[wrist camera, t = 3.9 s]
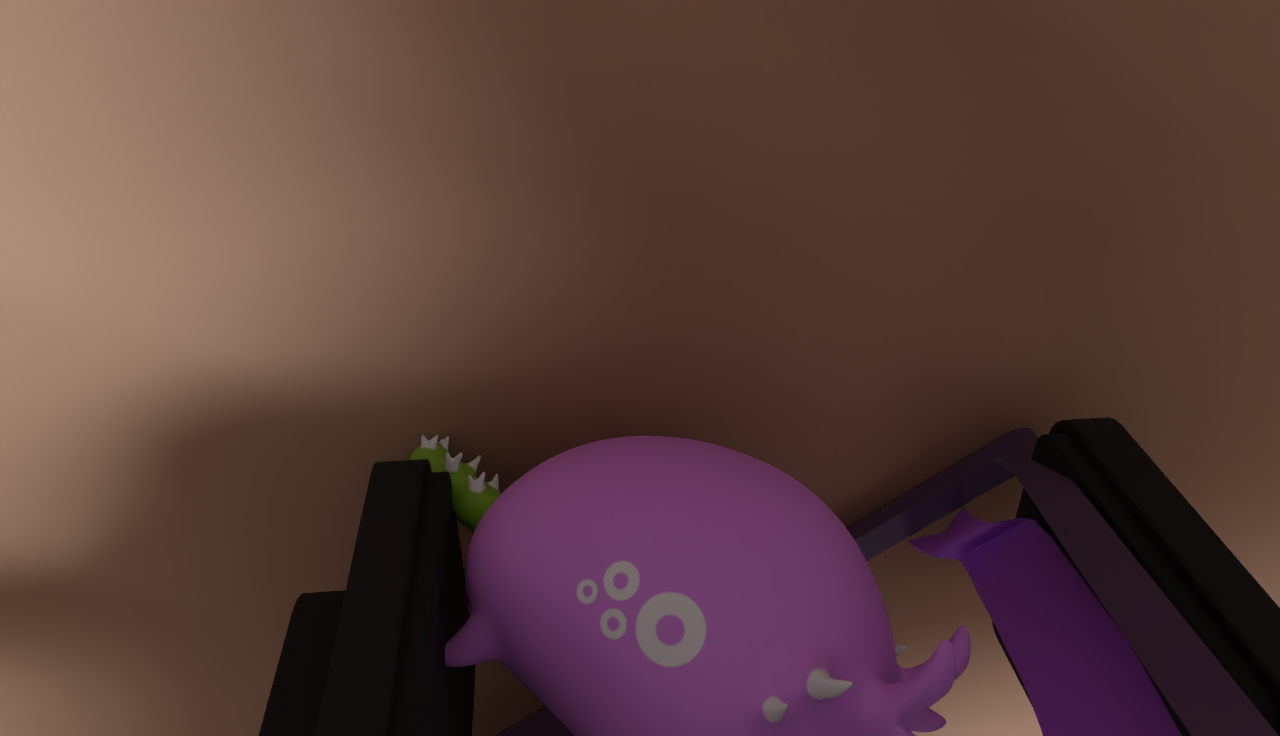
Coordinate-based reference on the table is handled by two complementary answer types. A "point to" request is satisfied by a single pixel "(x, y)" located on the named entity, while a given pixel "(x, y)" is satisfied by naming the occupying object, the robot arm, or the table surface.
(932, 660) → the monster skateboard toy
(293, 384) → the table surface
